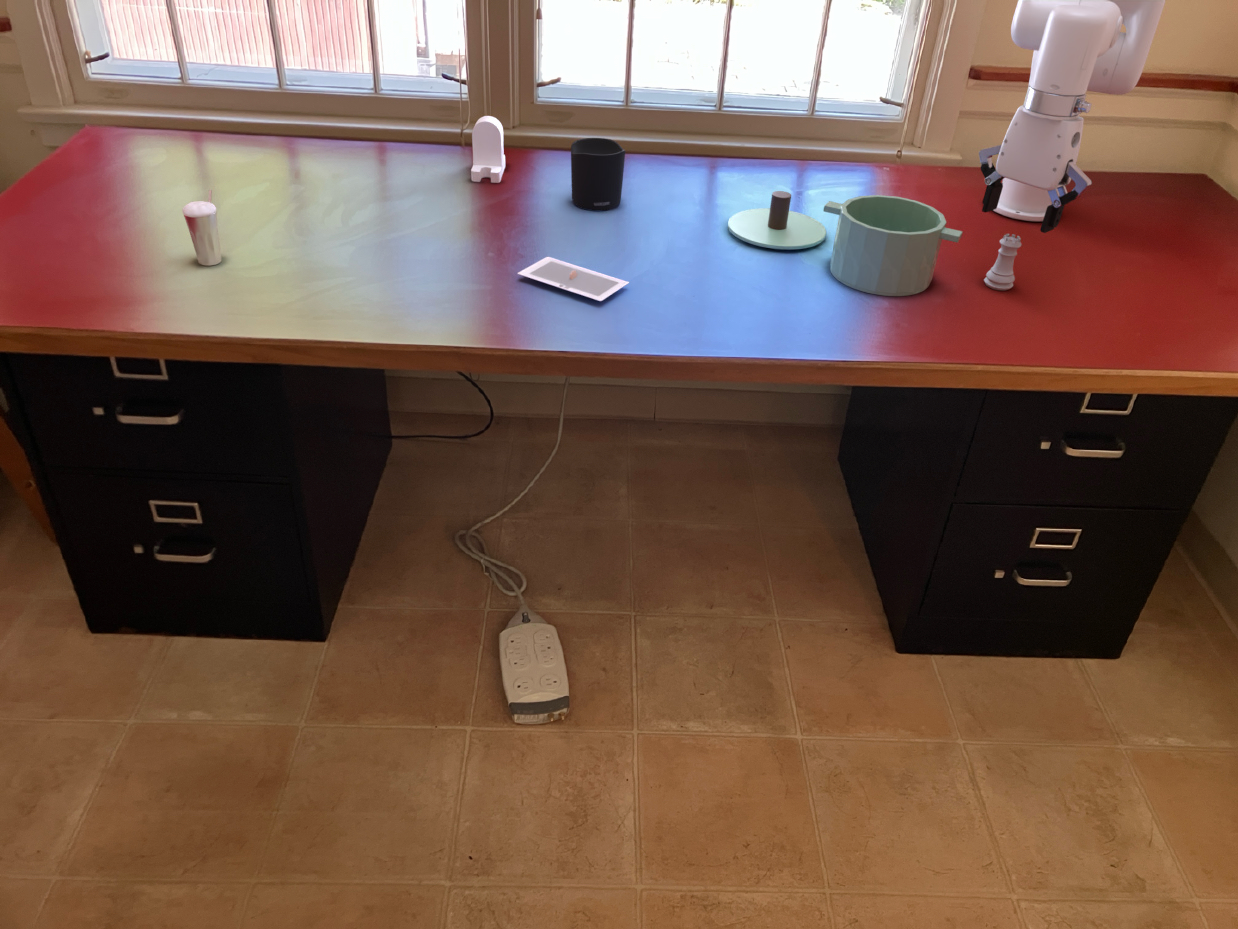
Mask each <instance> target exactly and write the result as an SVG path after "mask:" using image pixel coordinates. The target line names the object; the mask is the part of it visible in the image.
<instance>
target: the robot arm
mask: <svg viewBox="0 0 1238 929" xmlns="http://www.w3.org/2000/svg"><path fill="white" fill-rule="evenodd" d="M1166 1H1167V0H1017V3H1016V6H1015V11H1014V13H1013V15H1012V16H1013V17H1012V22H1011V27H1010V36H1011V40H1012V42H1013V43H1014V45H1016V46H1017V47H1018V48H1021V49H1024V50H1029V51H1033V53H1032V60H1031V67H1030V75H1029V80H1028V85H1027V90H1026V93H1025V97H1024V100H1023V104H1022V105H1020V106H1018V108H1017V109H1016V111H1015V113H1014V115H1013V117H1012V119H1011V121H1010V123H1009V126H1008V128H1007V130H1006V132H1005V135H1004V138H1003V140H1002V143H1001V144H998V145H993V146H990V147H986V148H982V149H980V150H979V151H978V156H979V162H980V163H979V164H980V171H981V174H982V175H983V177H984V184H985V185H986V187H985V191H984V195H983V198H982V208H981V212H983V213H988V212H992V211H993V212H995V213H997V214H999V215H1001V216H1004V217H1008V218H1011V219H1014V220H1019V221H1026V222H1041V226H1040V229H1039V231H1040V232H1041V233H1043V234H1046V233H1048V232H1050V231H1053V230H1055V228H1057V227H1058V225H1059V224H1060V221H1061V218H1062V215H1063V211H1064V209H1065V206H1066V205H1068V204H1070V203H1071V202H1073V201H1075V200H1077V199H1079V198H1080V197H1081V196H1082V195H1083V194H1084V193H1085V192H1086V191H1087V190H1088V189H1089V188H1090V187H1091V185H1092V180H1091V179H1090V177H1088V176H1087V175H1086V174H1085V173H1084V172H1083V170H1082V169H1081V168H1080V167H1079V166H1078V165H1077V161H1078V157H1079V153H1080V149H1081V143H1082V138H1083V131H1084V121H1085V120H1084V119H1085V118H1084V117H1082V116H1080V115H1081V114H1082V113H1084V114H1088V113H1089V112H1090V110H1091V109H1092V103H1091V102H1088V101H1087V100H1086V98H1087V94H1086V93H1087V92H1092V93H1099V94H1107V95H1114V96H1115V95H1117V96H1120V95H1121V96H1122V95H1127V94H1129V93H1130V92H1132V91H1133V90H1134V88H1135V87H1136V86H1137V84H1138V82H1139V81H1140V78H1141V76H1142V73H1143V71H1144V68H1145V65H1146V62H1147V60H1148V56H1149V53H1150V49H1151V47H1152V43H1153V41H1154V38H1155V35H1156V32H1157V29H1158V25H1159V22H1160V20H1161V16H1162V14H1163V10H1164V7H1165V3H1166ZM1123 26H1124V28H1125V31H1121V30H1122V27H1123ZM996 155H997V158H996V163H995V165H994V163H993V157H994V156H996ZM1071 181H1073V182H1074V185H1075V186H1074V187H1073V188H1072V189H1071V190H1070V191H1068V190H1067V187H1066V186H1068V185H1069V184H1070V183H1071Z"/></svg>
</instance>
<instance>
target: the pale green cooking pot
mask: <svg viewBox="0 0 1238 929" xmlns="http://www.w3.org/2000/svg"><path fill="white" fill-rule="evenodd" d="M823 212H825V213H829V214H833V215H837V216H838V219H837V224H836V230H835V235H834V241H833V246H832V251H831V256H830V261H829V263H830V267H829V270H830V273H831V275H832V276H833V277H834V278H835V279H836V280H837V281H838V282H839V283H841V284H843V285H845V286H847V287H849V288H851V289H853V290H856V291H859V292H863V293H867V294H871V295H877V296H883V297H905V296H913V295H917V294H921V293H922V292H924V291H925V290H927V289H928V288H929V286H930V284H931V282H932V281H933V278H934V272H935V268H936V264H937V261H938V258H939V254H940V250H941V245H942V242H943V240H944V241H949V242H953V243H959V241H960V240H961V239H962V237H963V231H962V230H958V229H953V228H949V227H946V226H947V220H946V218H945V215H944V214H943V213H942V212H940V211H939V210H938V209H936V208H935V207H933V206H931V205H929V204H926V203H924V202H920V201H918V200H914V199H910V198H906V197H902V196H893V195H882V194H871V195H858V196H855V197H852V198H848V199H847V200H845V201H844V202H843V203H840V202H835V201H831V200H828V201H827V203H825V204H824V205H823Z"/></svg>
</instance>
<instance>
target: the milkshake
mask: <svg viewBox="0 0 1238 929" xmlns="http://www.w3.org/2000/svg"><path fill="white" fill-rule="evenodd" d="M212 193H213V190H211V189H209V190H208V197H207V198H208V199H207V201H202V200H197V201H190V202H189V203H187V204H185V205H184V206H183V208H182V210H181V211H182V214H183V217H184V220H185V223H186V226H187V229H188V231H189V234H190V239H191V242H192V245H193V248H194V251H195V256H196V258H197V261H198V264H199V265H201V266H207V267H211V266H216V265H218V264H220V263H222V253H221V244H220V237H219V227H218V226H219V225H218V214H217V207H216V205H214V203H212V195H213V194H212Z"/></svg>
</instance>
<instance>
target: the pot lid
mask: <svg viewBox="0 0 1238 929" xmlns="http://www.w3.org/2000/svg"><path fill="white" fill-rule="evenodd" d="M791 201H792V194H791V193H790V192H788V191H783V190H775V191H773V192H772V193H771V199H770V206H769V207H761V208H760V207H758V208H750V209H745V210H741V211H738V212H736V213H734V214H732V215H731V216H730V217H729V219H728V222H727V228H728V231H729V232H730V233H731V234H732V235H733V236H734V237H735V238H737V239H739V240H741V241H743V242H746V243H748V244H751V245H754V246H757V247H762V248H766V249H767V248H768V249H773V250H801V249H807V248H812V247H815V246H817V245H820V244H821V243H822V242H824V240H825V239H826V237H827V230H826V227H825V226H824V225H823V224H822V223H821V222H820V221H819V220H817V219H816V218H814V217H811V216H809V215H807V214H805V213H801V212H797V211H793V210H790V206H791Z"/></svg>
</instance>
